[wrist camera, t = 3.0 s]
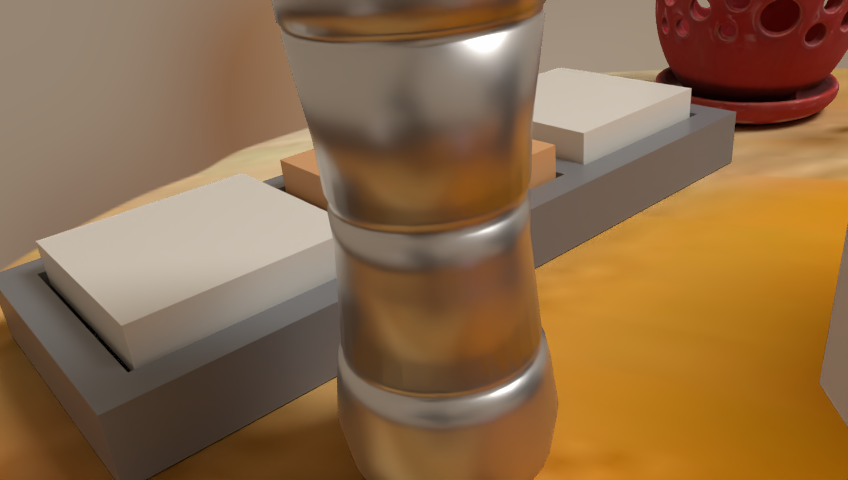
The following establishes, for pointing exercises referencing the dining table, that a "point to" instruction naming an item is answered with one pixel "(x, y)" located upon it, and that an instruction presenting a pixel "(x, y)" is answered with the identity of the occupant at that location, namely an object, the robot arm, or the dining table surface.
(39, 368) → the keypad frame
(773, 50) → the plant pot
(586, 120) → the pale key
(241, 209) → the pale key
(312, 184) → the orange key
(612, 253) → the dining table surface
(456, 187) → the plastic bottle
